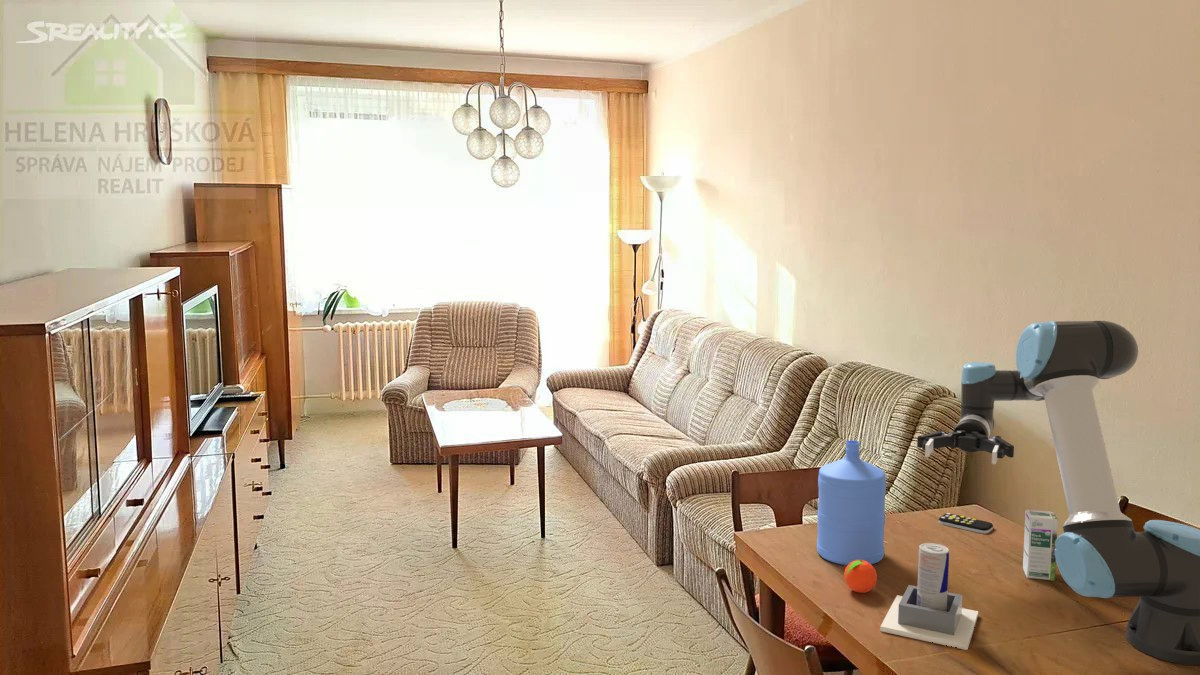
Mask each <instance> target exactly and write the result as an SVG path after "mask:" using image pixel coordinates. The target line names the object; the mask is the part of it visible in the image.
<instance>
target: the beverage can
mask: <svg viewBox="0 0 1200 675" xmlns="http://www.w3.org/2000/svg"><path fill="white" fill-rule="evenodd" d="M918 546H919V549H918V567H917V569H918V570H917V587H918V588H917V606H921V607H926V608H931V609H936V610H941V611H946V612H947V592H948V586H949V568H950V565H949V564H950V553H949V552H950V550H949V548H948V547H947V546H945V545H942V544H939V543H935V542H934V543H933V542H924V543H922V544H919V545H918Z"/></svg>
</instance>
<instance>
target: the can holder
mask: <svg viewBox="0 0 1200 675" xmlns="http://www.w3.org/2000/svg"><path fill="white" fill-rule="evenodd" d="M917 588H918V585H910V584H908V586H907V588H906V590H905V592H904V593H903V595H898V594H897V595H896V596H895V598H894V600H893V602H892V604H891V606H890V607H889V610H888V611H887V613H886V615H885V617H884V619H883V620H882V623H881V624H880V627H879V628H880V629H879V630H880V631H879V632H881V633H888V634H891V635H892V634H893V635H897V636H901V637H906V638H910V639H915V640H919V641H923V642H929V643H932V642H933V643H932V644H937V645H943V646H946V645H947V646H946V647H951V646H952V648H955V647H957V648H956V649H961V650H965V651H968V650H969V647H970V643H971V641H972V636H973V633H974V630H975V628H974V627H976V624H977V621H978V617H979V611H978V610H973V609H967V608H965V607H963V594H959V593H953V592H950V591H949V592H947V612H946V611H941V610H936V609H931V608H926V607H921V606H917Z"/></svg>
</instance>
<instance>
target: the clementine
mask: <svg viewBox="0 0 1200 675" xmlns="http://www.w3.org/2000/svg"><path fill="white" fill-rule="evenodd" d="M843 577H844V582H845V584H846V585H847V587H848V588H849V589H850V590H852V591H854V592H856V593H860V594H861V593H862V594H865V593H868V592H870V591H871V590H873V588H875V587H876V584H877V581H878V574H877V570H876V568H875V567H874V566H873V564H872V565H871V564H870V563H868V562H867V561H864V560H855V561H853V562H851V563H850V564H849V565H846V566H845V569H844V574H843Z"/></svg>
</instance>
